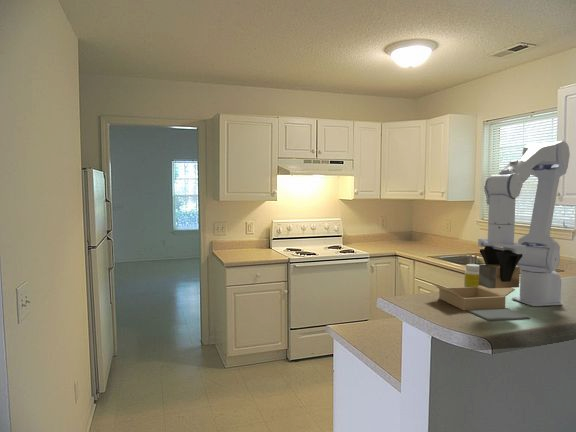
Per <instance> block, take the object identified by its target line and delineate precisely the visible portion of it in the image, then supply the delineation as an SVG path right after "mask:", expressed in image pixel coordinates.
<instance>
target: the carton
mask: <svg viewBox="0 0 576 432" xmlns="http://www.w3.org/2000/svg"><path fill="white" fill-rule="evenodd" d="M430 284H431V285H433V287H436V288H438V289H439V292H438V294H439V295H438V299H439V300H441V301H443V302H445V303H448V304H450V305H452V306H454V307H456V308H459V309H461V310H462V311H468V310H474V309H495V308H506V299H507V298H506V297H507V296H509V295H510V294H511V293H514V292H515V290H516V289H515V288H486V287H484V286H481V285H479V286H478V287H464V286H461V287H443V286H441V285H439V284H436V283H433V282H430Z"/></svg>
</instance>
